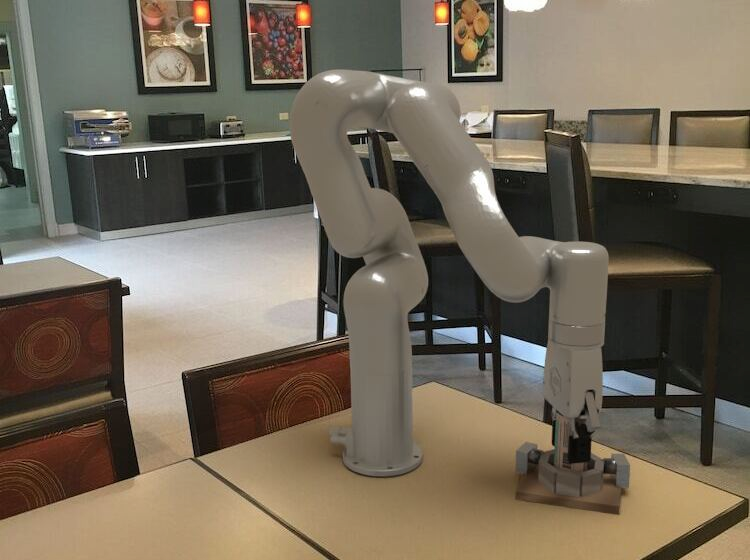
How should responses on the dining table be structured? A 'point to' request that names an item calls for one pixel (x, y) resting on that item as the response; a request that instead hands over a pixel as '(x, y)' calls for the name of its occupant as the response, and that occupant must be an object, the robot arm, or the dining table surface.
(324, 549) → the dining table surface
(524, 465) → the shaft in
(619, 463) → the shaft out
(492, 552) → the dining table surface
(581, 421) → the beer can
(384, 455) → the robot arm
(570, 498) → the octagonal gimbal ring stand
